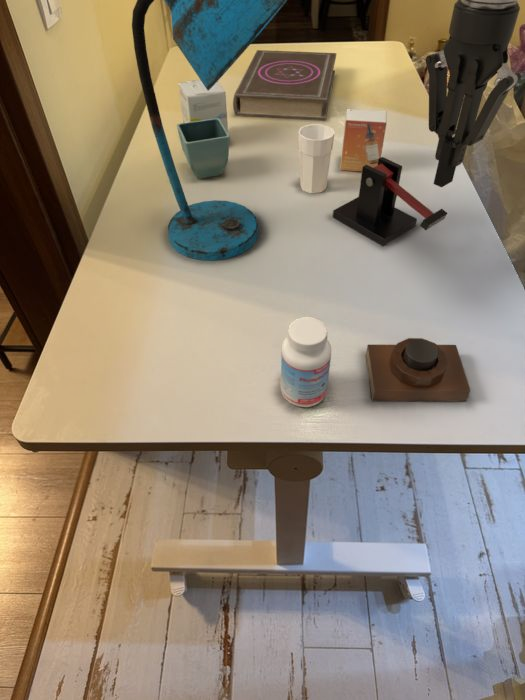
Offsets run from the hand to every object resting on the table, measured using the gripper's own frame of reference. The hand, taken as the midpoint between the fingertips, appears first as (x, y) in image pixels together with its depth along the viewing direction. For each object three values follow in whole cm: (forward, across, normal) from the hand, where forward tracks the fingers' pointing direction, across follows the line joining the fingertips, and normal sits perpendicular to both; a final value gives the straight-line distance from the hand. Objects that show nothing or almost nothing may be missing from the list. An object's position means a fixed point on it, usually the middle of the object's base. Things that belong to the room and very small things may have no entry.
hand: (442, 182), depth 79 cm
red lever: (+6, -6, 0) cm, 9 cm away
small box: (+13, -27, +14) cm, 33 cm away
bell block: (+13, +16, -24) cm, 31 cm away
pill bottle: (+13, +8, -36) cm, 39 cm away
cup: (+13, -28, +1) cm, 31 cm away
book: (+12, -66, +28) cm, 73 cm away
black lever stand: (+13, -12, 0) cm, 17 cm away
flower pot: (+12, -47, -12) cm, 50 cm away
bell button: (+9, +16, -24) cm, 30 cm away
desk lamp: (+13, -27, -22) cm, 37 cm away
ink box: (+12, -58, -3) cm, 60 cm away
